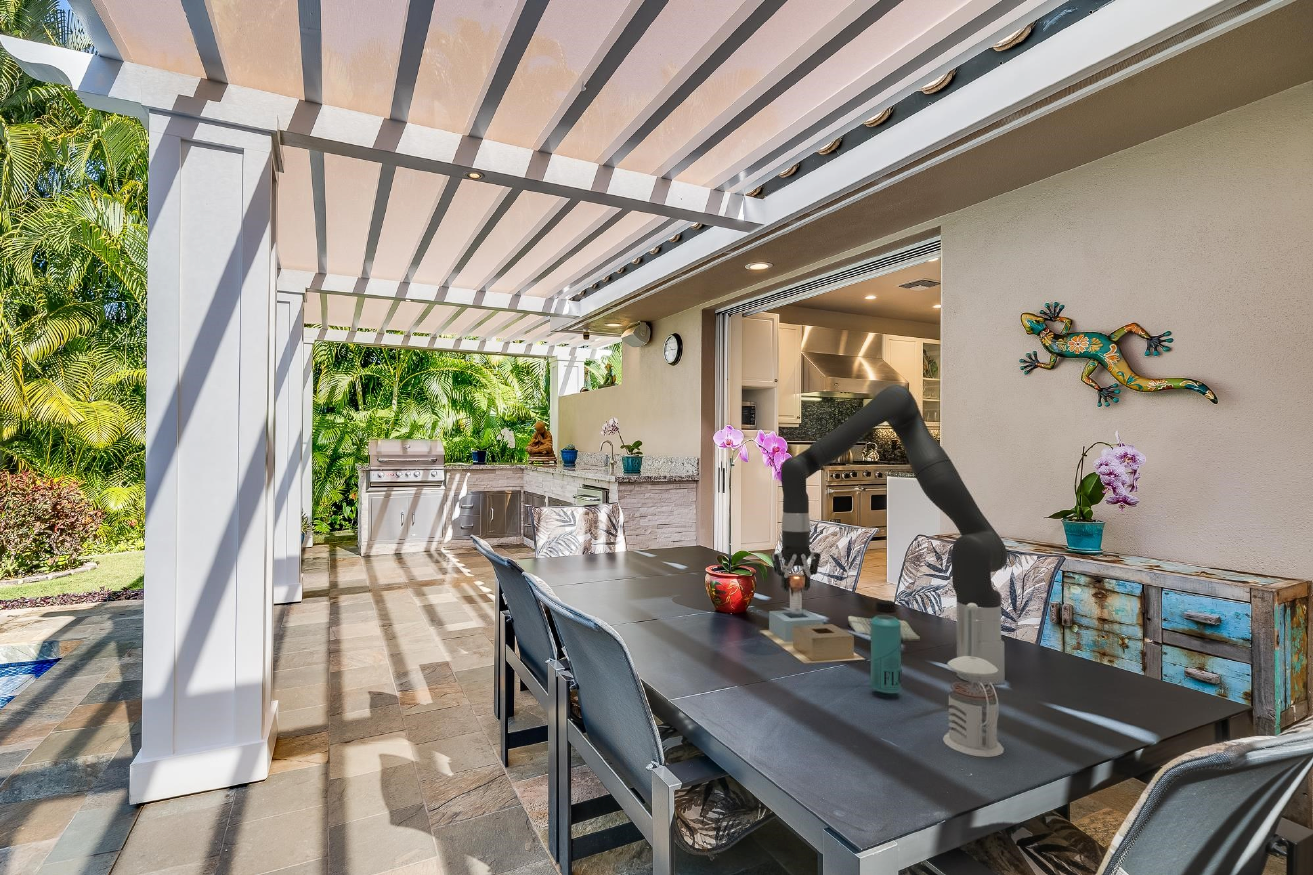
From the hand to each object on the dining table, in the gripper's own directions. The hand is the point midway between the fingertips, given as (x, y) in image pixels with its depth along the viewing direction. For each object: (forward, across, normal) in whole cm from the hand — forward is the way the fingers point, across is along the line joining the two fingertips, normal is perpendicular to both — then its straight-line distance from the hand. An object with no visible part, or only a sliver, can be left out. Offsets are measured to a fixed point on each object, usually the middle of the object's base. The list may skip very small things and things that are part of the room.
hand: (795, 590), depth 178 cm
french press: (+14, +4, -66) cm, 68 cm away
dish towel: (+15, +29, +4) cm, 33 cm away
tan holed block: (+12, 0, -16) cm, 20 cm away
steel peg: (+11, 0, 0) cm, 11 cm away
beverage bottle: (+14, +2, -41) cm, 43 cm away
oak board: (+14, 0, -8) cm, 16 cm away
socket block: (+12, 0, 0) cm, 12 cm away
